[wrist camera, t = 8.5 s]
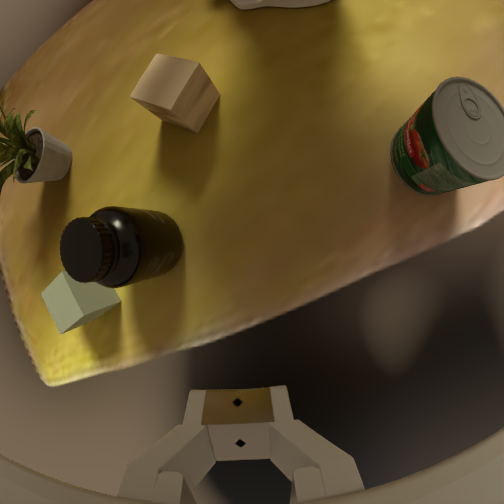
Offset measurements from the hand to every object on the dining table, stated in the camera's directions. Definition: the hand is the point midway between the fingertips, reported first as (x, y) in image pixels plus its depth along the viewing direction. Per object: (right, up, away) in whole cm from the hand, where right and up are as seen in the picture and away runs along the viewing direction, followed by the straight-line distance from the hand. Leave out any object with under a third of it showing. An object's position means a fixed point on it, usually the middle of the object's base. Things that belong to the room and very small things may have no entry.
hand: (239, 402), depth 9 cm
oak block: (-6, +20, +20) cm, 29 cm away
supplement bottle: (-10, +6, +22) cm, 25 cm away
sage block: (-18, 0, +24) cm, 30 cm away
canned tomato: (+18, +14, +17) cm, 28 cm away
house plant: (-27, +18, +24) cm, 40 cm away
